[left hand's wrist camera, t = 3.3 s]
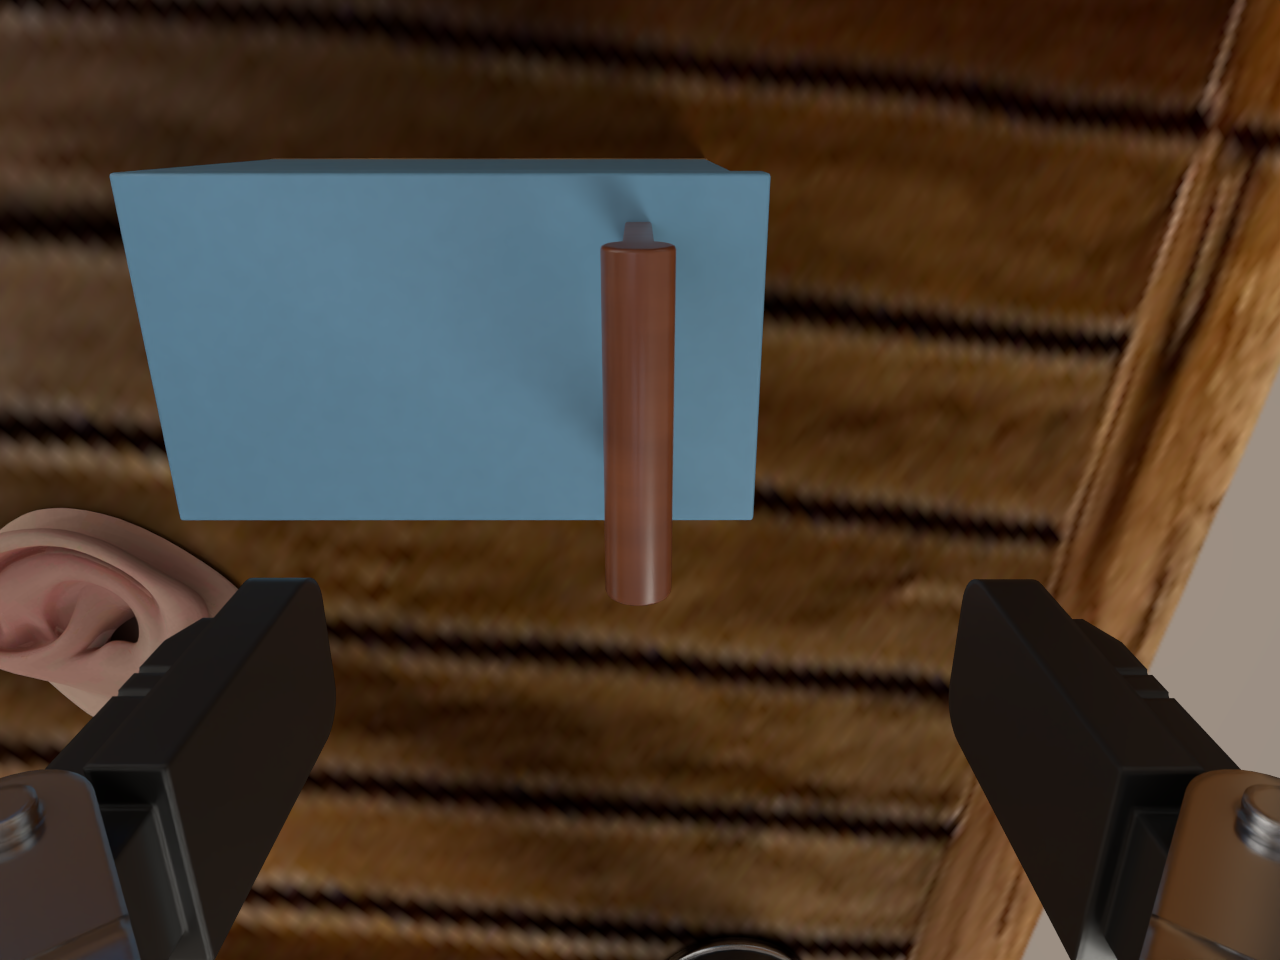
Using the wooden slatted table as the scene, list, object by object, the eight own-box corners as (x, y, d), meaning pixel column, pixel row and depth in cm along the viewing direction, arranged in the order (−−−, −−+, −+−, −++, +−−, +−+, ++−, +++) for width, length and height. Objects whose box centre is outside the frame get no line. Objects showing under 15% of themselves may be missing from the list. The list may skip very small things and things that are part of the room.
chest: (705, 158, 34) (733, 170, 24) (699, 405, 38) (721, 505, 28) (280, 158, 34) (131, 170, 24) (314, 405, 38) (198, 505, 28)
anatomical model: (280, 747, 39) (65, 829, 41) (312, 693, 43) (113, 771, 44) (97, 490, 35) (-136, 594, 36) (150, 455, 38) (-64, 551, 40)
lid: (765, 171, 24) (823, 190, 16) (748, 505, 28) (790, 648, 20) (130, 170, 24) (-104, 190, 16) (197, 506, 28) (30, 649, 20)
